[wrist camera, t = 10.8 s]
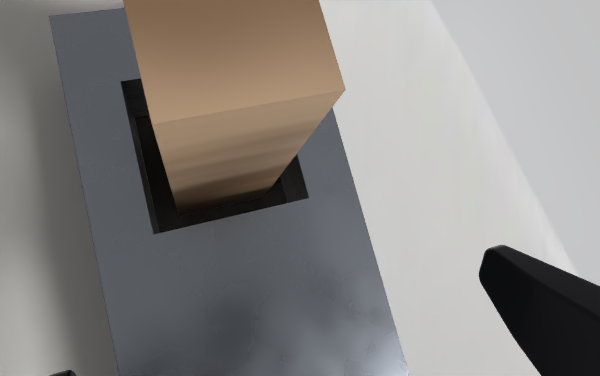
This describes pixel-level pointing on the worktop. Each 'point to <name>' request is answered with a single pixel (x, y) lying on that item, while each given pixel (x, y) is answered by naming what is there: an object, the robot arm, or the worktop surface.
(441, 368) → the worktop surface
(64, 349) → the worktop surface
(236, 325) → the block
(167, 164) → the walnut peg
